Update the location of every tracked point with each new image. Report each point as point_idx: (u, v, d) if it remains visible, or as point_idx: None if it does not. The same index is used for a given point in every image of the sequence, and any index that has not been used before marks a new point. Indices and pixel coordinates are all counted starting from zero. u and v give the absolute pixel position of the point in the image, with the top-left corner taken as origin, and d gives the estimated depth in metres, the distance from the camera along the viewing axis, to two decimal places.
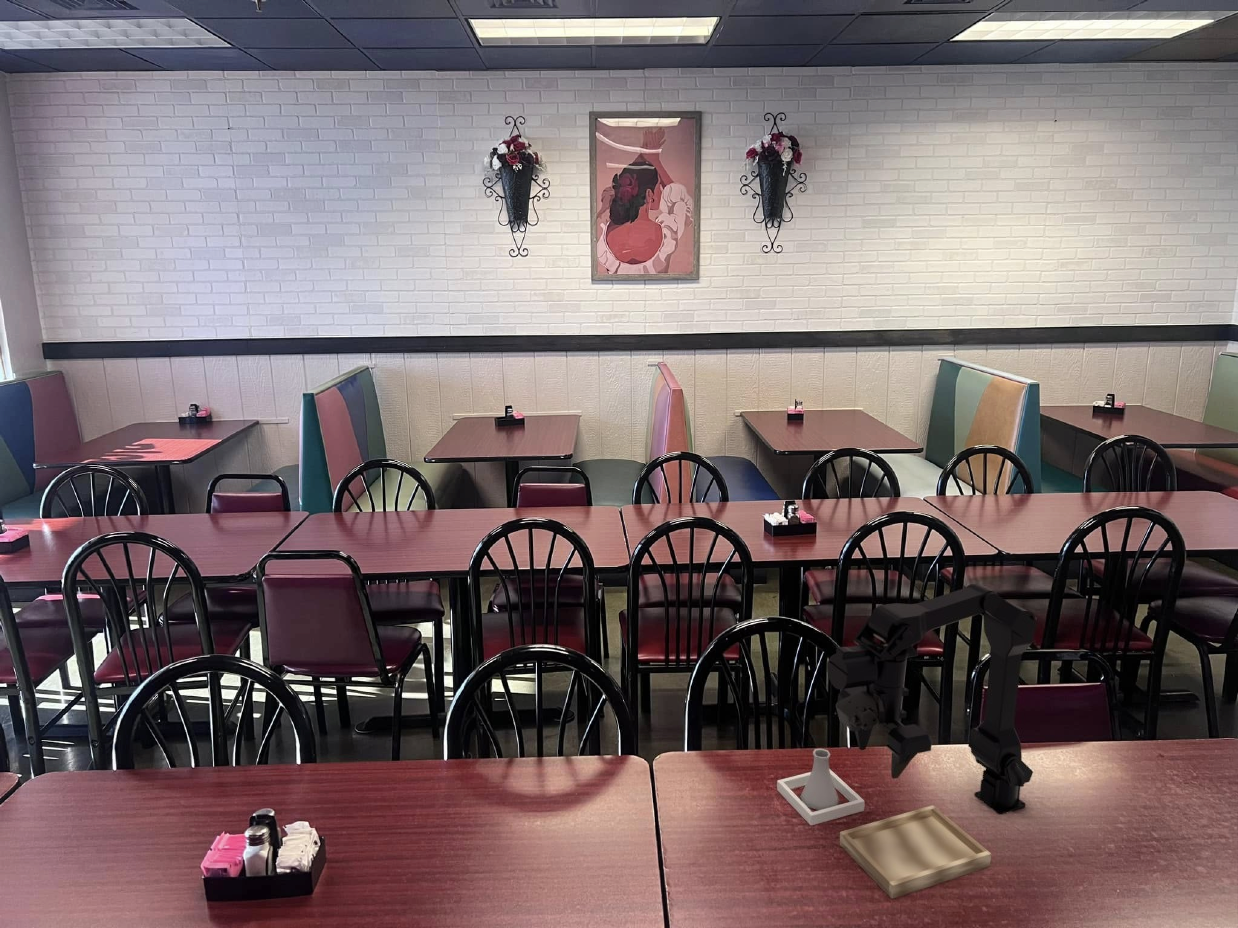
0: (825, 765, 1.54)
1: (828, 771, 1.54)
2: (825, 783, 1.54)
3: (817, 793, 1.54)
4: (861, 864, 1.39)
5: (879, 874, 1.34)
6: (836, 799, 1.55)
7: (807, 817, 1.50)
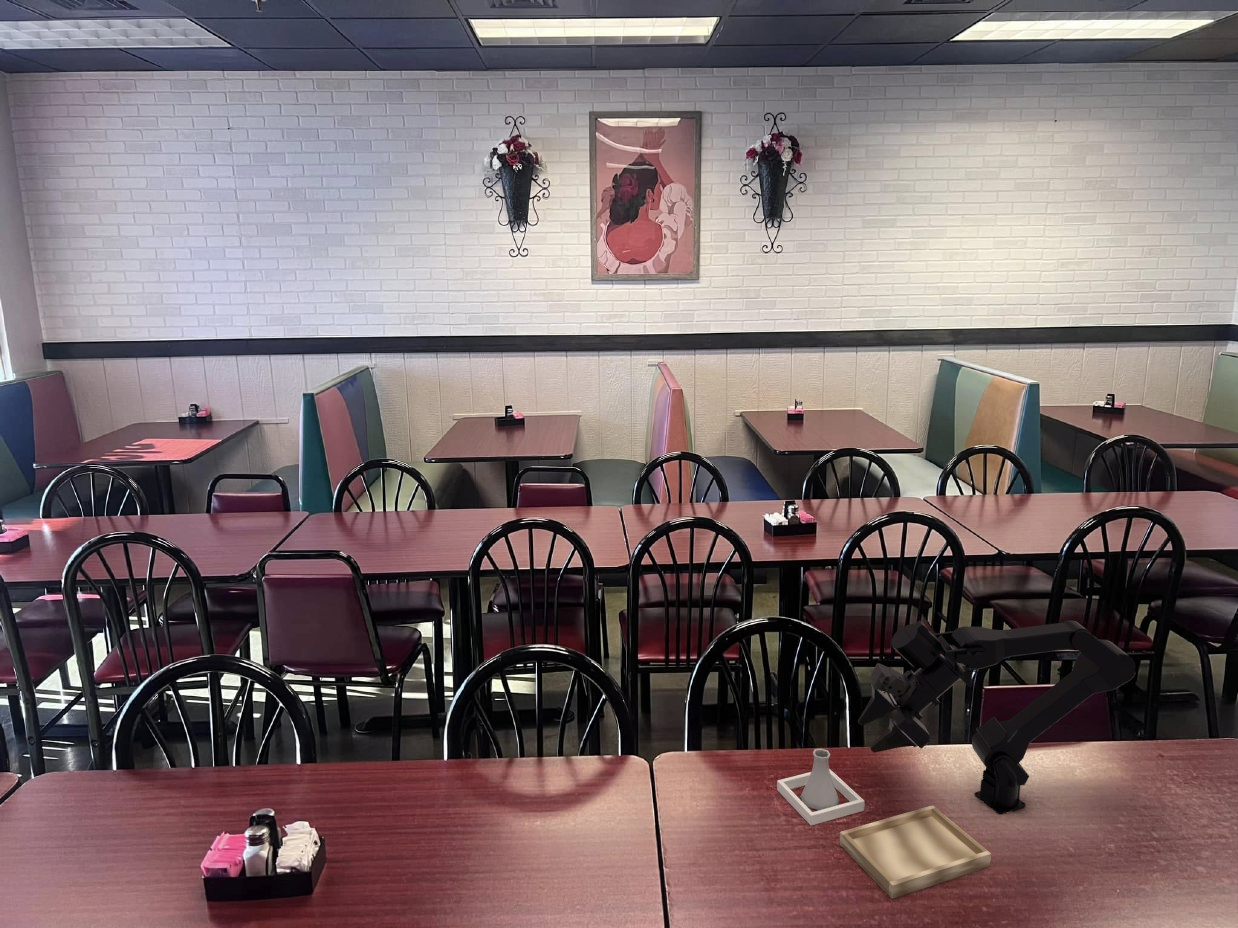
0: (825, 765, 1.54)
1: (828, 771, 1.54)
2: (825, 783, 1.54)
3: (817, 793, 1.54)
4: (861, 864, 1.39)
5: (879, 874, 1.34)
6: (836, 799, 1.55)
7: (807, 817, 1.50)
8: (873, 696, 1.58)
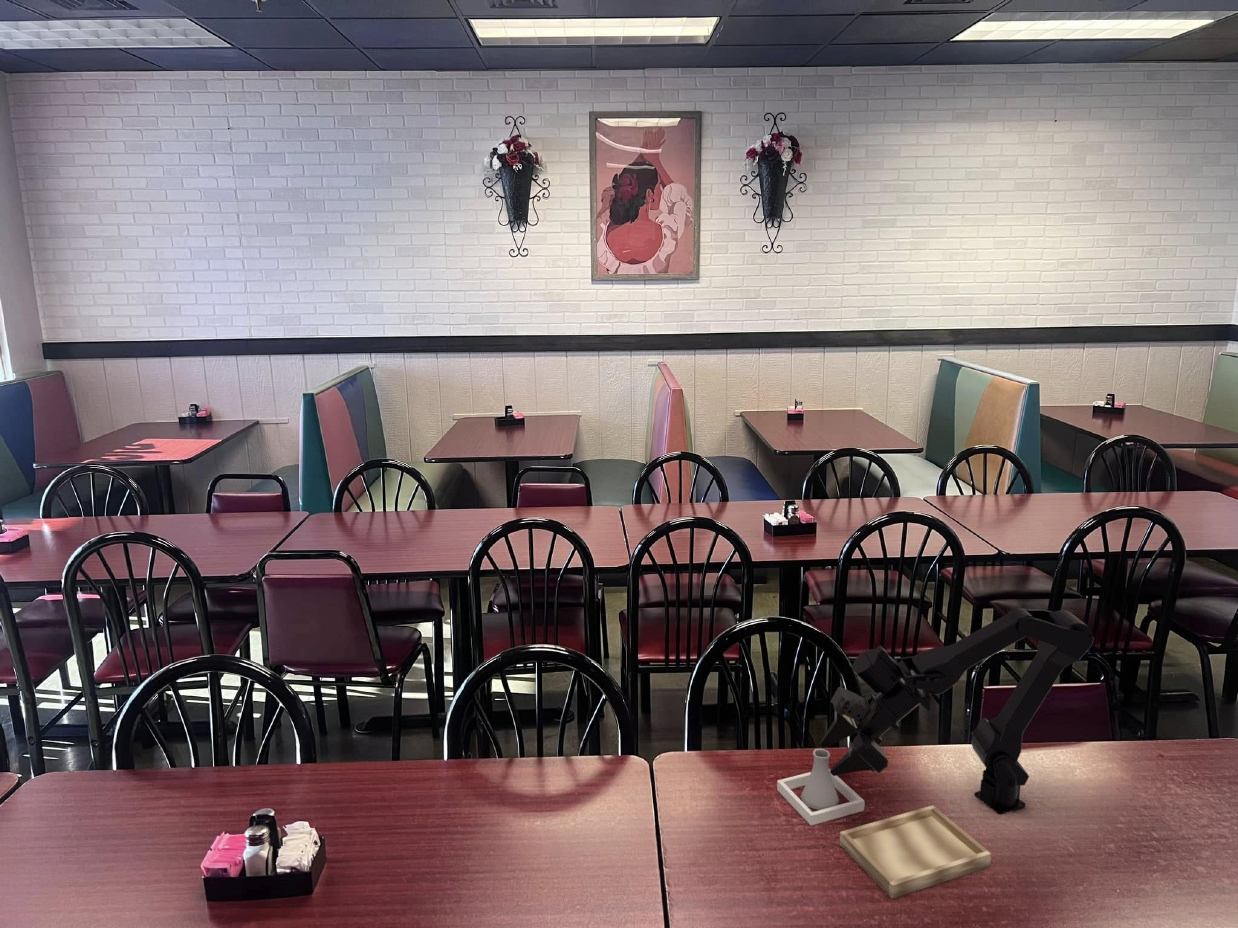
0: (825, 765, 1.54)
1: (828, 771, 1.54)
2: (825, 783, 1.54)
3: (817, 793, 1.54)
4: (861, 864, 1.39)
5: (879, 874, 1.34)
6: (836, 799, 1.55)
7: (807, 817, 1.50)
8: (835, 719, 1.59)
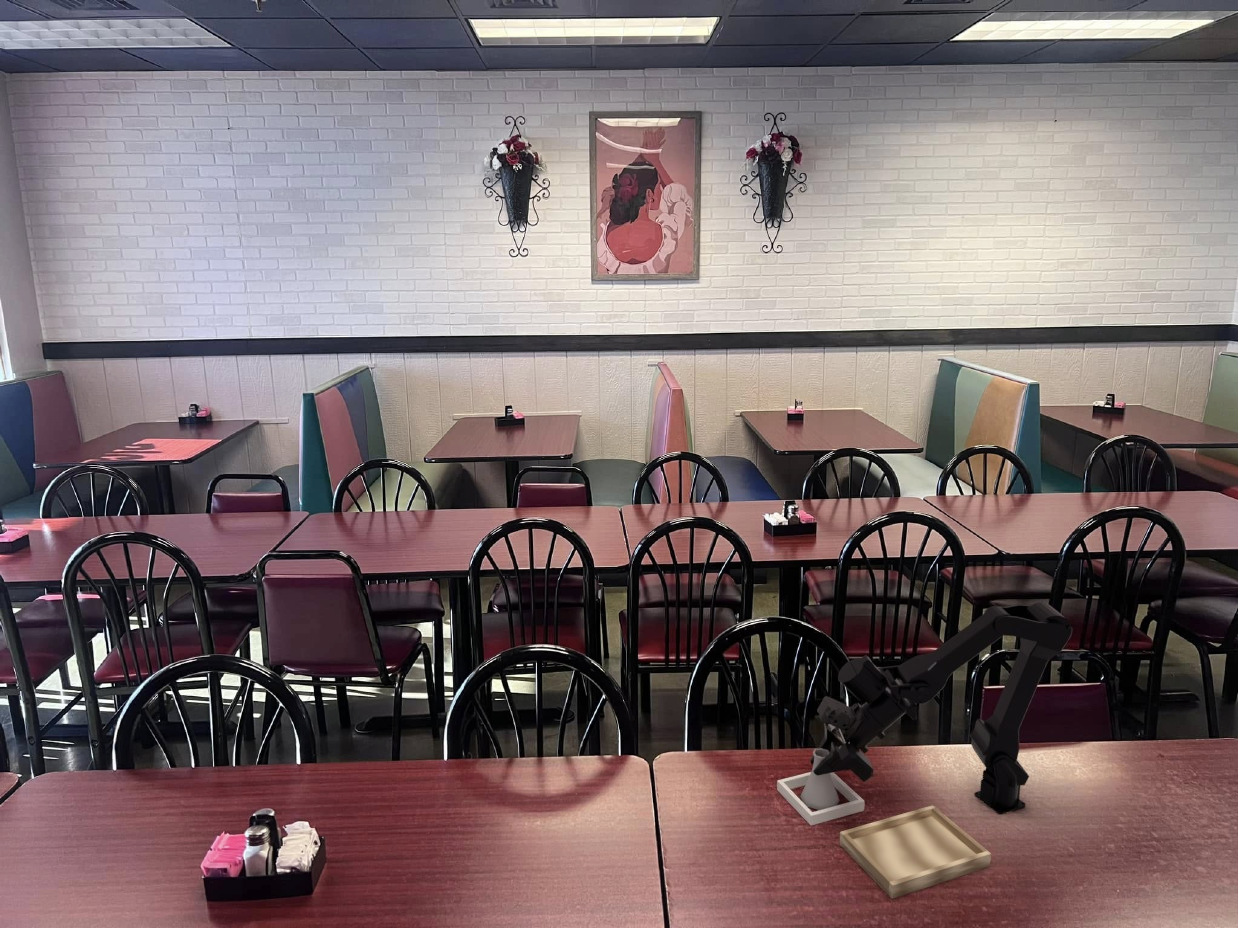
0: None
1: None
2: (825, 782, 1.54)
3: (817, 793, 1.54)
4: (861, 864, 1.39)
5: (879, 874, 1.34)
6: (836, 798, 1.55)
7: (807, 817, 1.50)
8: (825, 736, 1.57)
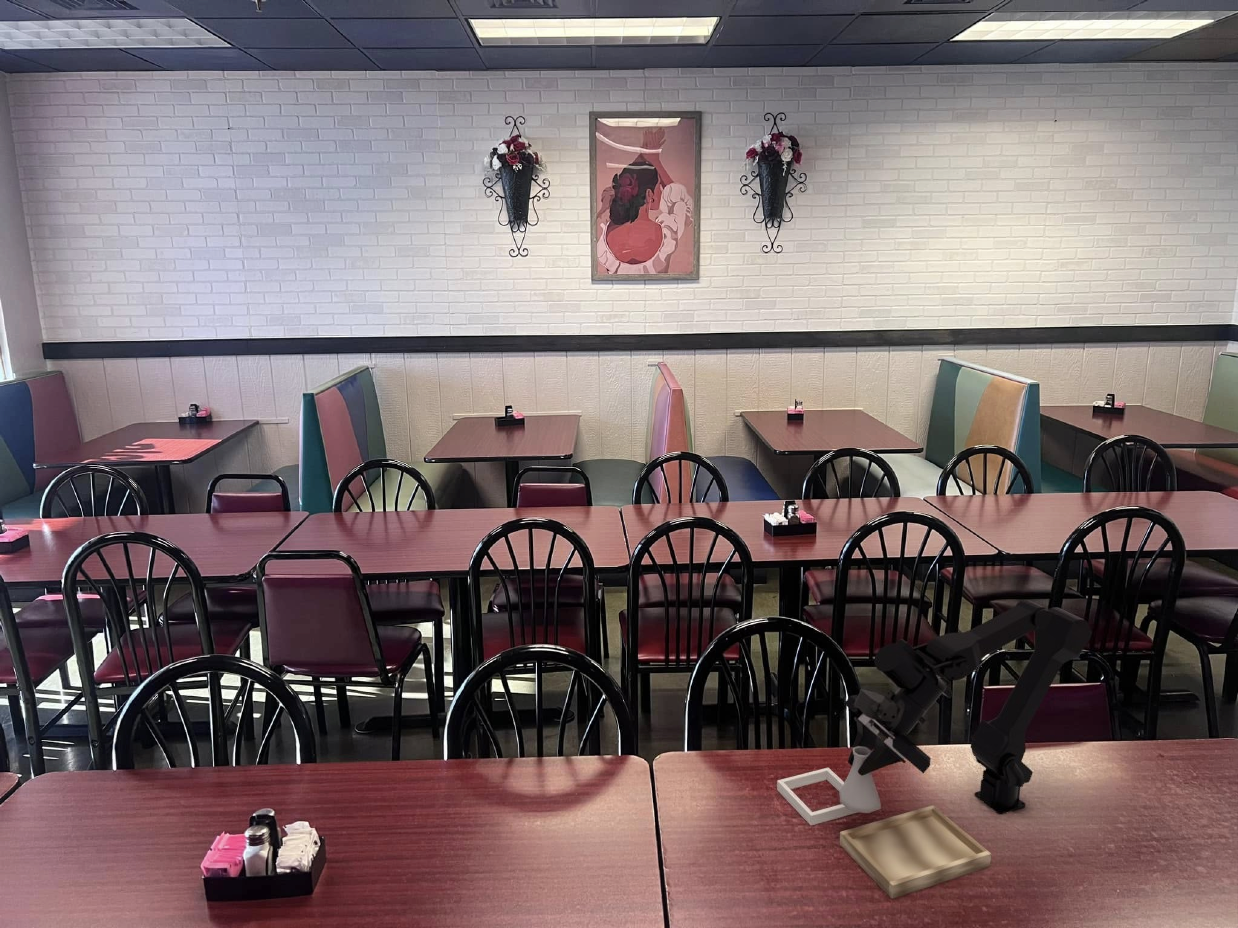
0: None
1: None
2: (869, 782, 1.43)
3: (863, 795, 1.43)
4: (861, 864, 1.39)
5: (879, 874, 1.34)
6: (878, 797, 1.45)
7: (807, 817, 1.50)
8: (860, 731, 1.46)
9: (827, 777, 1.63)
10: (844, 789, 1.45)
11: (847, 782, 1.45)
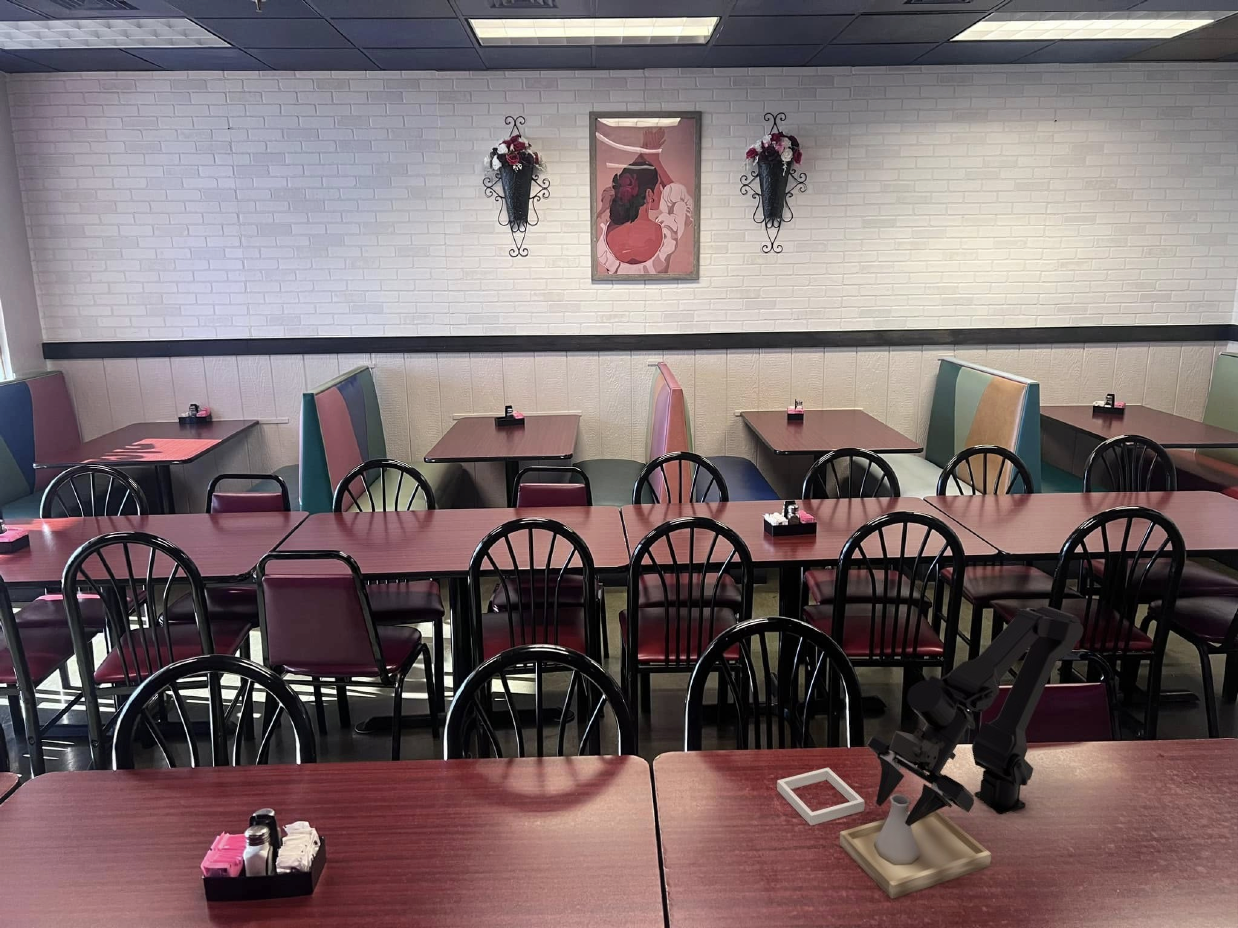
0: (907, 811, 1.38)
1: None
2: (909, 831, 1.38)
3: (904, 845, 1.38)
4: (861, 864, 1.39)
5: (879, 874, 1.34)
6: None
7: (807, 817, 1.50)
8: (885, 770, 1.42)
9: (827, 777, 1.63)
10: (882, 840, 1.40)
11: (885, 833, 1.40)
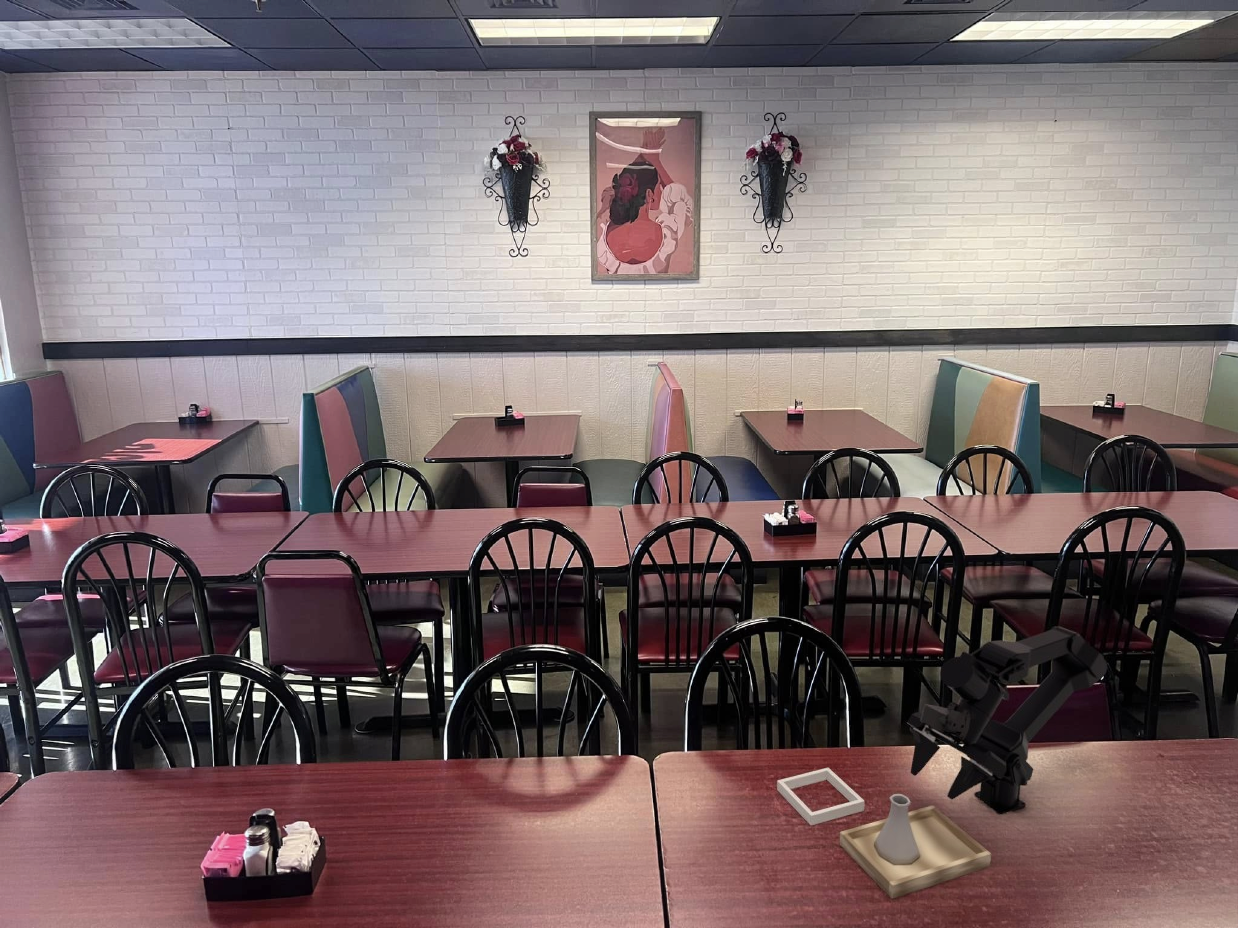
0: (907, 811, 1.38)
1: None
2: (909, 831, 1.38)
3: (904, 845, 1.38)
4: (861, 864, 1.39)
5: (879, 874, 1.34)
6: None
7: (807, 817, 1.50)
8: (918, 741, 1.49)
9: (827, 777, 1.63)
10: (882, 840, 1.40)
11: (885, 833, 1.40)
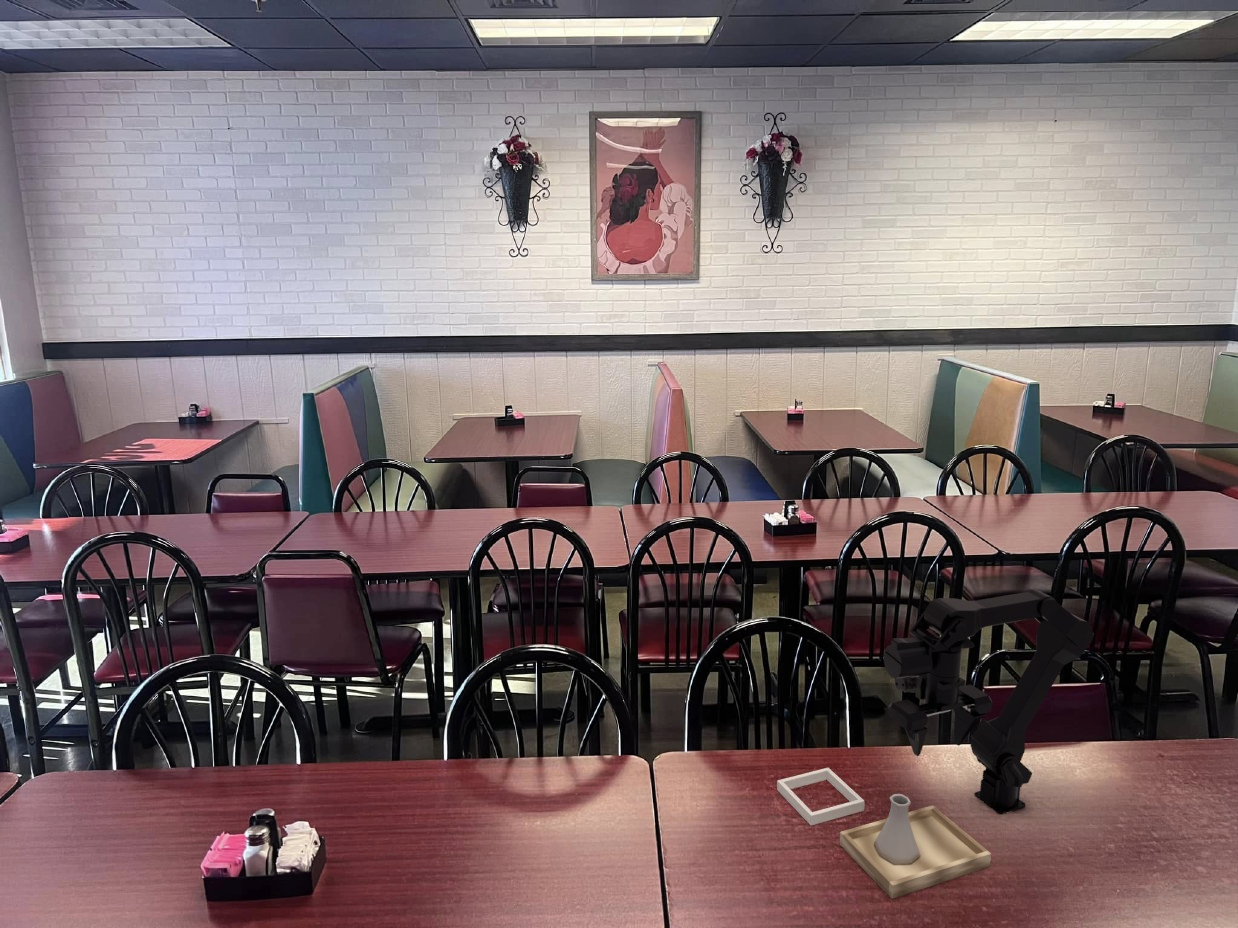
0: (907, 811, 1.38)
1: None
2: (909, 831, 1.38)
3: (904, 845, 1.38)
4: (861, 864, 1.39)
5: (879, 874, 1.34)
6: None
7: (807, 817, 1.50)
8: None
9: (827, 777, 1.63)
10: (882, 840, 1.40)
11: (885, 833, 1.40)
